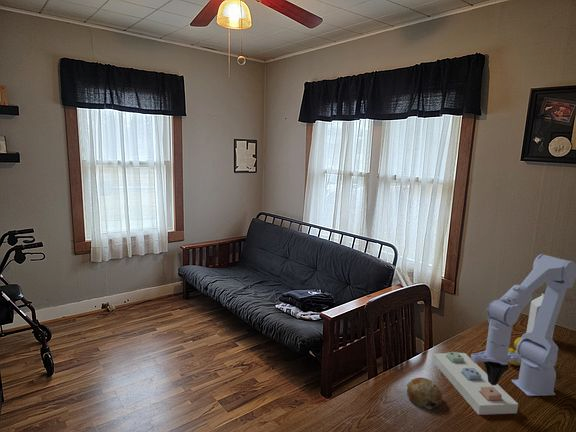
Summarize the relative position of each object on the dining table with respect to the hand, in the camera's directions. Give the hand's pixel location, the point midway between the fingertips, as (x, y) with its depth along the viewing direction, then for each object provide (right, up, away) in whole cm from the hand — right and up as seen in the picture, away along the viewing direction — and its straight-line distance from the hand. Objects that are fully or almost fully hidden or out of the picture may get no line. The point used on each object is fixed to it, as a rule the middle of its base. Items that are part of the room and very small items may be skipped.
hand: (492, 383), depth 112 cm
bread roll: (-20, -6, +4) cm, 21 cm away
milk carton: (+43, -1, +43) cm, 61 cm away
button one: (0, -5, +1) cm, 5 cm away
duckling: (+23, -4, +24) cm, 34 cm away
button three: (-1, -3, +11) cm, 11 cm away
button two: (-2, -1, +20) cm, 21 cm away
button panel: (-1, -5, +11) cm, 12 cm away
